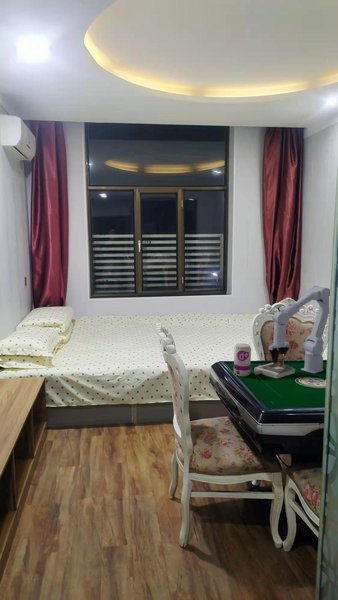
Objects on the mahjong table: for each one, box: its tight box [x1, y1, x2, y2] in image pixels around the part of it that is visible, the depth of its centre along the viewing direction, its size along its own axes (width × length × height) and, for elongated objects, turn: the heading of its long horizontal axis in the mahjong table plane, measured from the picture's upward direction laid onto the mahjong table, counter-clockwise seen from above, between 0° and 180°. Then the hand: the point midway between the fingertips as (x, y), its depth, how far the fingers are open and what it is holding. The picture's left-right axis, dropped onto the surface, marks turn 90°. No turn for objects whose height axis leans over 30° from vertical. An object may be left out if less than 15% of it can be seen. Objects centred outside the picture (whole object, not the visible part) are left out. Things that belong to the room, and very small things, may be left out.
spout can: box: [272, 352, 287, 366], centre depth 215 cm, size 5×7×6 cm
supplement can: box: [233, 343, 252, 377], centre depth 213 cm, size 8×8×15 cm
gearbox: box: [253, 362, 296, 379], centre depth 216 cm, size 19×14×4 cm
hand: (278, 361), depth 216 cm, fingers closed on spout can, 5 cm apart
